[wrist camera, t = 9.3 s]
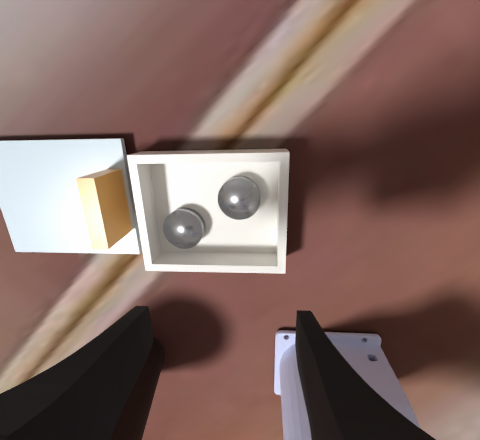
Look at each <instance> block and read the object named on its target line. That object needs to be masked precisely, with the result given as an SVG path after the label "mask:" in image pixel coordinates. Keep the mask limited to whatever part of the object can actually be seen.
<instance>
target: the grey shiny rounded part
mask: <svg viewBox="0 0 480 440" xmlns="http://www.w3.org/2000/svg"><path fill="white" fill-rule="evenodd" d="M163 232H164V235H165V237H166V239H167V240H168V241H169V242H170V243H171V244H172V245H174V246H175V247H178V248H182V249H188V248H192V247H194V246H196V245H197V244H198V243H199V242H200V240H201V238H202V237H203V235H204V233H205V222H204V219H203V218H202V216H201V215H200V214H199V213H198V212H197V211H195V210H194V209H191V208H187V207H182V208H178V209H176V210H174V211H173V212H172V213H171V214H169V215H168V216H167V217H166V219H165V221H164V224H163Z"/></svg>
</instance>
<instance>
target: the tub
mask: <svg viewBox="0 0 480 440" xmlns="http://www.w3.org/2000/svg"><path fill="white" fill-rule="evenodd" d="M289 156H290V152H289V151H288V150H287V149H240V150H187V151H142V152H138V153H134V154H130V155H127V160H128V166H129V172H130V178H131V184H132V190H133V197H134V203H135V209H136V215H137V221H138V227H139V233H140V239H141V245H142V251H143V257H144V264H145V270H146V271H185V272H235V273H285V269H286V241H287V213H288V184H289ZM234 176H245V177H248V178H250V179H252V180H253V181H254V182H255V183H256V184H257V186H258V187H259V190H260V195H261V197H260V206H259V208H258V210H257V211H256V213H255V214H254V215H253V216H251V217H249V218H247V219H243V220H236V219H232V218H230V217H228V216H226V215H225V214H224V213H223V212H222V211H221V209H220V207H219V204H218V193H219V190H220V188H221V187H222V185H223V184H224V182H225V181H227V180H228V179H229V178H231V177H234ZM182 207H187V208H191V209H194V210H195V211H197V212H198V213H199V214H200V215H201V216H202V218H203V219H204V222H205V233H204V235H203V237H202V238H201V240H200V242H199V243H198V244H197V245H196V246H194V247H192V248H188V249H182V248H178V247H175V246H174V245H172V244H171V243H170V242H169V241H168V240H167V239H166V237H165V235H164V232H163V224H164V221H165V219H166V217H167V216H168V215H169V214H171V213H172V212H173V211H174V210H176V209H178V208H182Z"/></svg>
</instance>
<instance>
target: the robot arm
mask: <svg viewBox="0 0 480 440" xmlns="http://www.w3.org/2000/svg"><path fill="white" fill-rule="evenodd" d="M285 335H288V336H287V337H286V336H285ZM363 338H365V339H364V340H362V339H363ZM153 341H154V337H153V331H152V325H151V320H150V314H149V308H148V306H136V307H134V308H133V309H132V310H130V311H129V312H128V313H126V314H125V315H124V316H123V317H121V318H120V319H119V320H118V321H116V322H115V323H114V324H113V325H111V326H110V327H109V328H108V329H106V330H105V331H104V332H102V333H101V334H100V335H98V336H97V337H96V338H94V339H93V340H92V341H90V342H89V343H87V344H86V345H85V346H83V347H82V348H81V349H79V350H78V351H76V352H75V353H73V354H72V355H70V356H69V357H67V358H65V359H64V360H62V361H61V362H59V363H57V364H56V365H54V366H53V367H51V368H49V369H47V370H45V371H44V372H42V373H40V374H38V375H36V376H35V377H33V378H31V379H29V380H27V381H26V382H24V383H22V384H20V385H18V386H16V387H14V388H12V389H10V390H7V391H5V392H3V393H1V394H0V440H111V437H112V435H113V432H114V429H115V427H116V424H117V422H118V419H119V417H120V415H121V412H122V410H123V408H124V406H125V404H126V402H127V400H128V398H129V396H130V394H131V392H132V390H133V387H134V385H135V383H136V381H137V379H138V377H139V375H140V373H141V371H142V369H143V367H144V365H145V363H146V361H147V358H148V355H149V353H150V350H151V347H152V344H153ZM380 346H381V338H380V336H379V335H378V334H366V333H340V332H324V331H323V329H322V328H321V326H320V325H319V323H318V321H317V320H316V318H315V317H314V315H313V313H312V312H311V311H297V320H296V331H287V330H279V331H277V332H276V334H275V375H274V392H275V393H276V394H277V395H281V404H282V419H283V435H284V440H436V439H434V438H433V437H431V436H430V435H429V434H427V433H426V432H424V431H423V430H422V429H420V428H419V424H418V421H417V418H416V416H415V413H414V411H413V408H412V406H411V404H410V402H409V400H408V398H407V396H406V394H405V392H404V391H403V389H402V387H401V385H400V383H399V381H398V379H397V377H396V375H395V373H394V371H393V369H392V368H391V366H390V364H389V362H388V360H387V358H386V356H385V354H384V352H383V350H382V348H381V347H380Z"/></svg>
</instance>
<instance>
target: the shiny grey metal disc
mask: <svg viewBox="0 0 480 440" xmlns="http://www.w3.org/2000/svg"><path fill="white" fill-rule="evenodd" d="M260 197H261V195H260V190H259V187H258V186H257V184H256V183H255V182H254V181H253V180H252V179H250V178H248V177H245V176H234V177H231V178H229V179H228V180H227V181H225V182H224V184H223V185H222V187H221V188H220V190H219V193H218V204H219V207H220V209H221V211H222V212H223V213H224V214H225V215H226V216H228V217H230V218H232V219H236V220H243V219H247V218H249V217H251V216H253V215H254V214H255V213H256V211H257V210H258V208H259V206H260Z"/></svg>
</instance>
